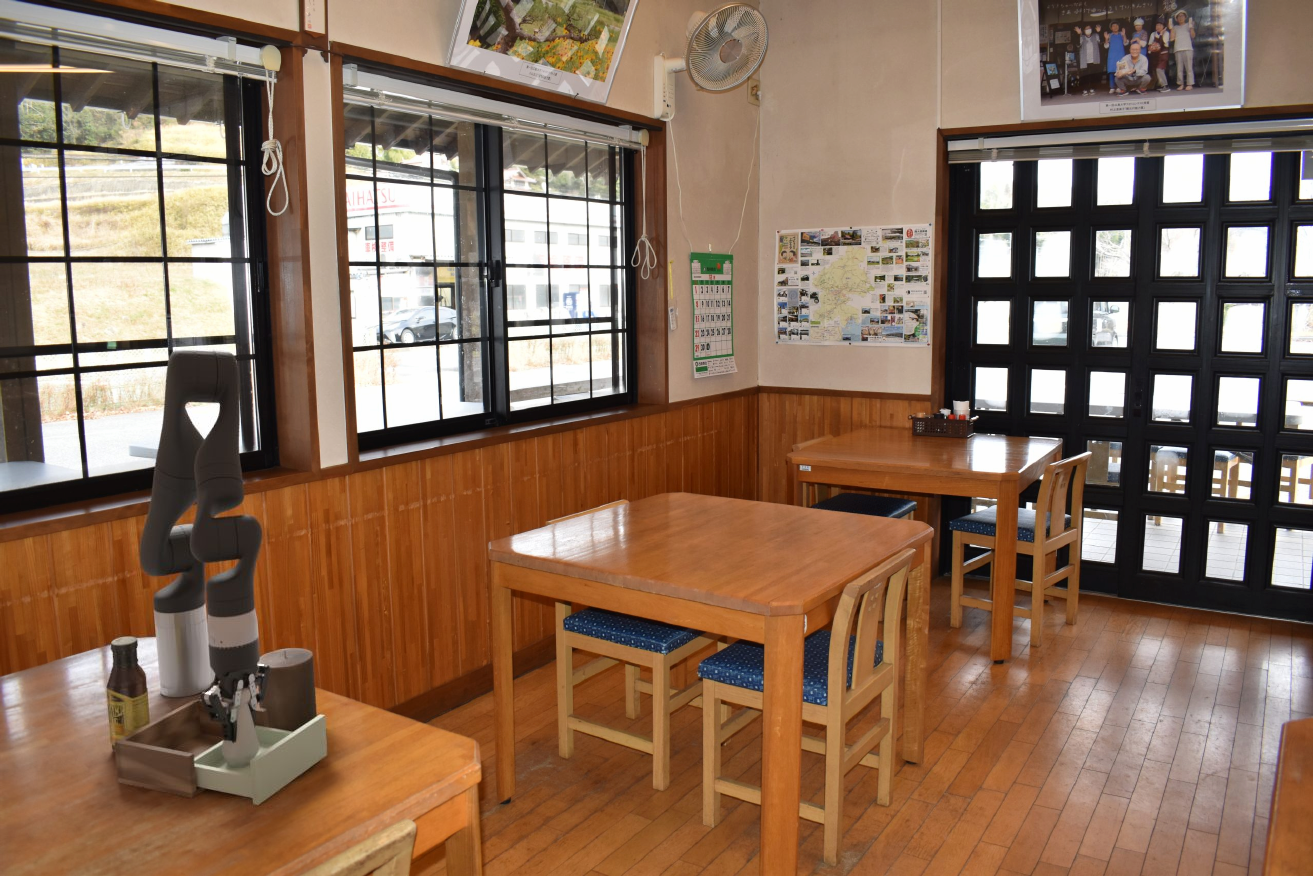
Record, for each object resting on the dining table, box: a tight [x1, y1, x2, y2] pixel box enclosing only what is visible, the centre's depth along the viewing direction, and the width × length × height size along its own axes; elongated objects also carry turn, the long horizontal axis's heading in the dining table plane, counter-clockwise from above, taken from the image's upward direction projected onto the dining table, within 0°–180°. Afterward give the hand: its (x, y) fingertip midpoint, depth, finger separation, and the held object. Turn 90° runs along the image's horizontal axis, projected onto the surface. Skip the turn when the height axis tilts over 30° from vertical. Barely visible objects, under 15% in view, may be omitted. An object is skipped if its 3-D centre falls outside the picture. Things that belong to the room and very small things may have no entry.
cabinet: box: [114, 697, 269, 799], centre depth 165 cm, size 18×15×7 cm
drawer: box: [194, 713, 328, 806], centre depth 161 cm, size 17×15×7 cm
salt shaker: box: [222, 688, 259, 768], centre depth 161 cm, size 6×6×13 cm
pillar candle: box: [257, 647, 318, 732], centre depth 178 cm, size 10×10×15 cm
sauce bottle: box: [105, 636, 151, 753], centre depth 170 cm, size 7×6×20 cm
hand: (240, 735), depth 162 cm, fingers open, 3 cm apart
